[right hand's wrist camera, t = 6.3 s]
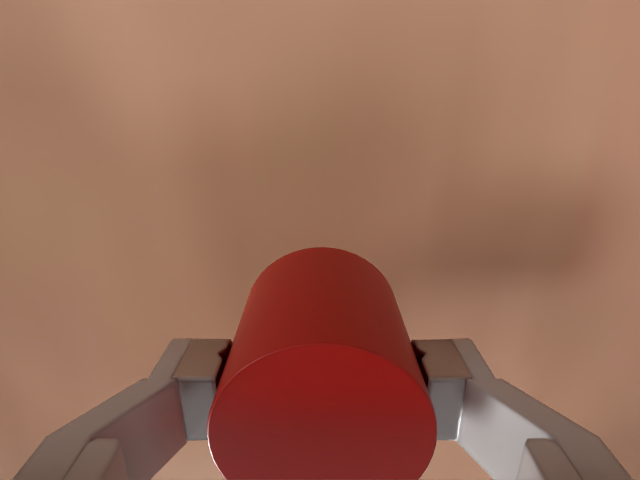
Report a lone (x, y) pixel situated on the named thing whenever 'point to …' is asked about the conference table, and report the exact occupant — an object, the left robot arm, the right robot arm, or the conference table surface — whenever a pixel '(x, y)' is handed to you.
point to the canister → (321, 379)
